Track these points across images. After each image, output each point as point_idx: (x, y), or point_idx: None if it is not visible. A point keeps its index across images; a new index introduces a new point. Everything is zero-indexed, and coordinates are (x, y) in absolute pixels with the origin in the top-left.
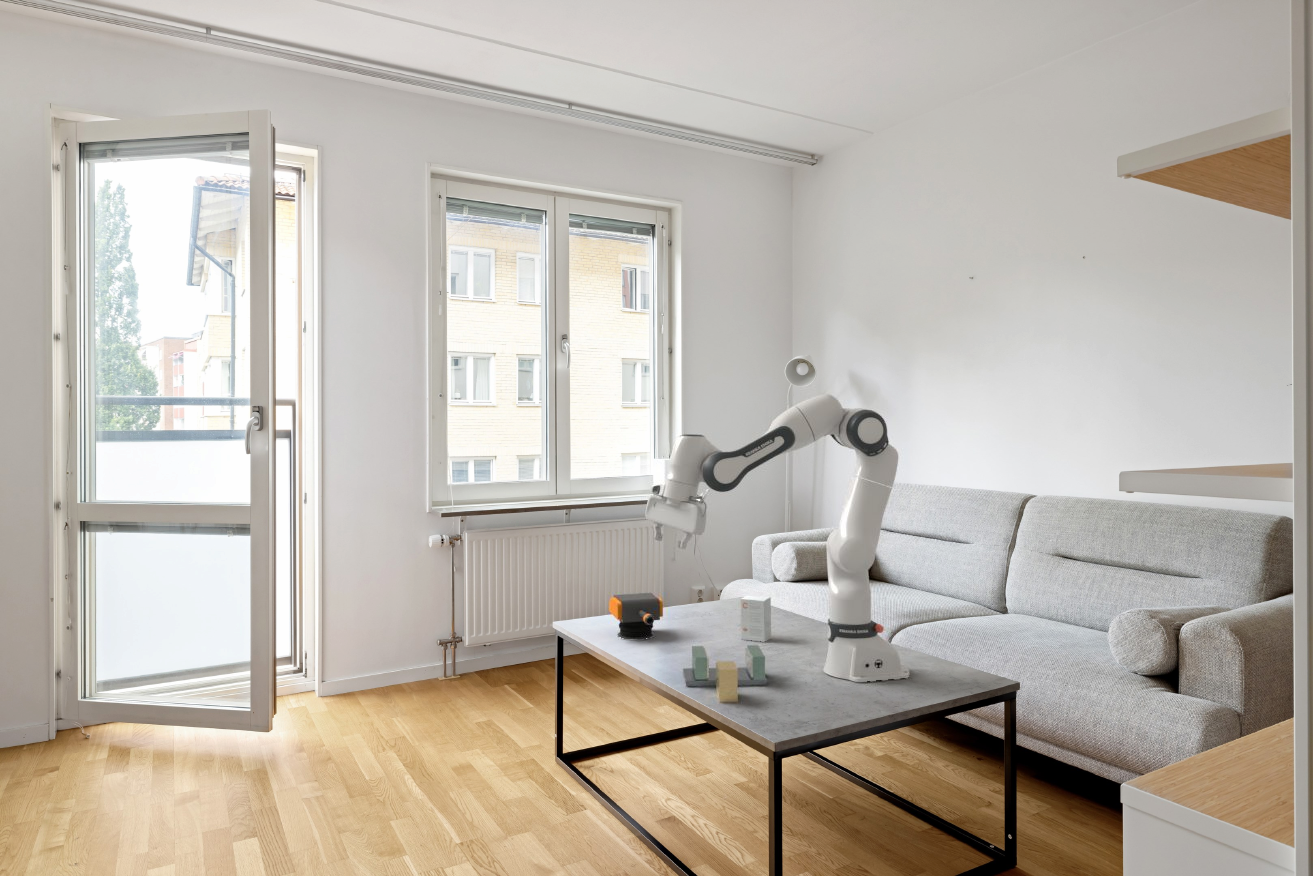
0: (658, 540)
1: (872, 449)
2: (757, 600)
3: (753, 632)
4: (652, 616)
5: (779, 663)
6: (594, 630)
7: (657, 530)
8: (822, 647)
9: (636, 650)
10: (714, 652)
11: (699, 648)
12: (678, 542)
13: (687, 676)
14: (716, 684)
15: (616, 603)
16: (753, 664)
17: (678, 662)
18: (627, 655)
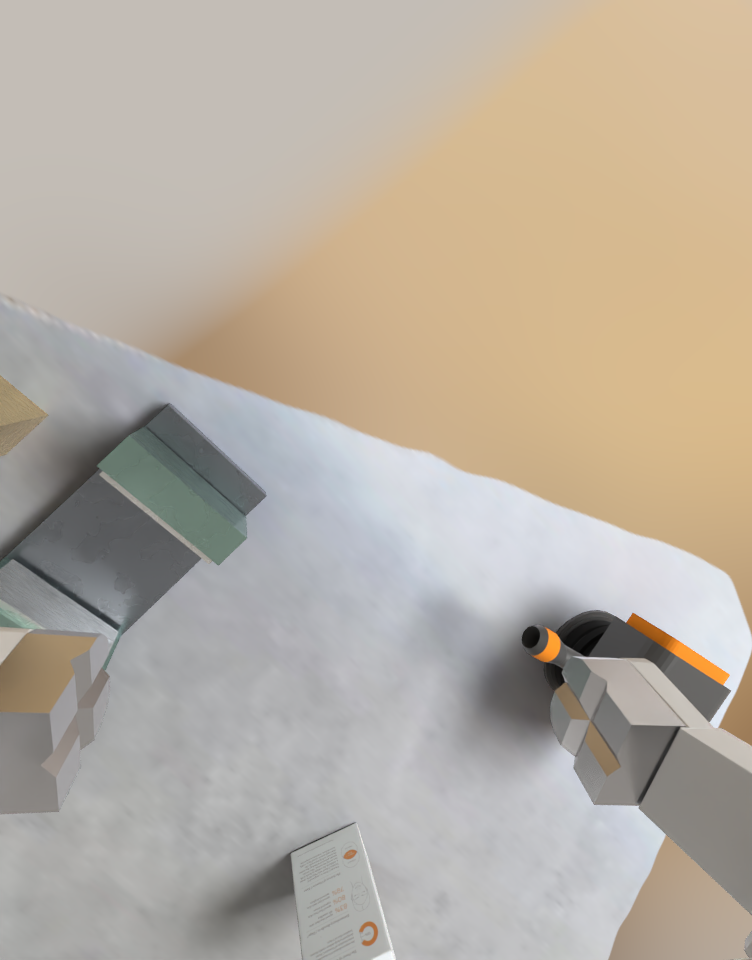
0: (565, 666)
1: None
2: None
3: (325, 860)
4: (535, 653)
5: (118, 757)
6: (684, 610)
7: (728, 799)
8: (132, 940)
9: (506, 563)
10: (335, 696)
11: (206, 535)
12: (65, 686)
13: (197, 443)
14: (24, 408)
15: (681, 643)
16: None
17: (350, 563)
18: (496, 515)
